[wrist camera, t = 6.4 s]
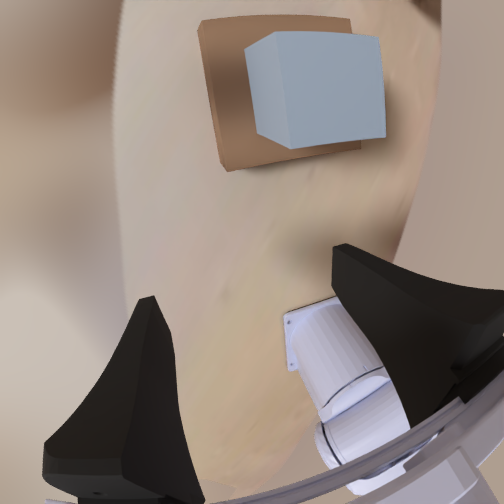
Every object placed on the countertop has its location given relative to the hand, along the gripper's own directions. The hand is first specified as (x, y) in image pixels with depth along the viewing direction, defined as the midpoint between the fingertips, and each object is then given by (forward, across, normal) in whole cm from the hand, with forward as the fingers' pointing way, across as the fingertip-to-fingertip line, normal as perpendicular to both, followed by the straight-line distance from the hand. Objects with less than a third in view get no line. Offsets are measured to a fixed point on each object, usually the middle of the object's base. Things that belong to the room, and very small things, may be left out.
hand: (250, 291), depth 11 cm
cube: (+8, -6, -7) cm, 12 cm away
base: (+10, -6, -7) cm, 14 cm away
